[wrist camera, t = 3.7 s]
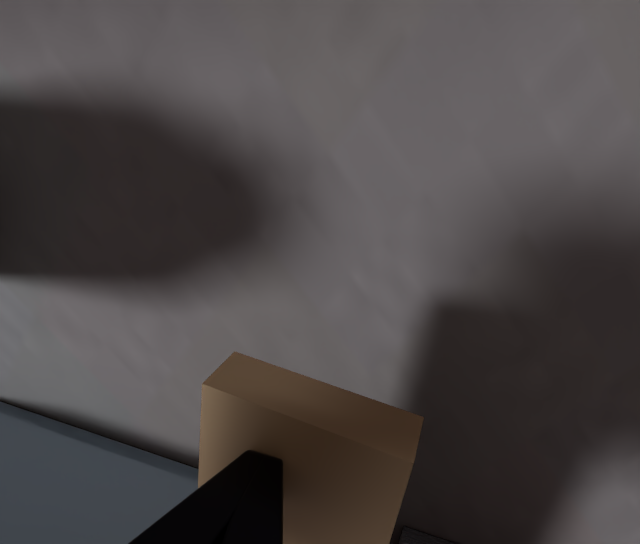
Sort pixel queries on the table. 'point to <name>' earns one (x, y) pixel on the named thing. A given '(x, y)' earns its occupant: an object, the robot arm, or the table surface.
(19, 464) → the bin
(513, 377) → the table surface
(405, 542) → the stand
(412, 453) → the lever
